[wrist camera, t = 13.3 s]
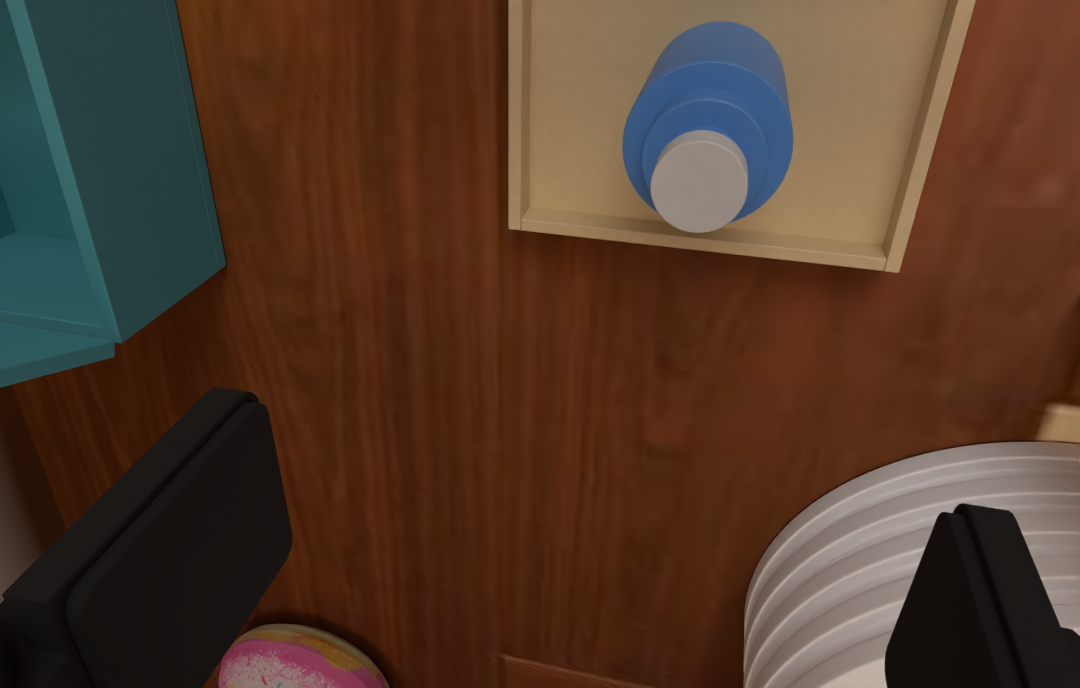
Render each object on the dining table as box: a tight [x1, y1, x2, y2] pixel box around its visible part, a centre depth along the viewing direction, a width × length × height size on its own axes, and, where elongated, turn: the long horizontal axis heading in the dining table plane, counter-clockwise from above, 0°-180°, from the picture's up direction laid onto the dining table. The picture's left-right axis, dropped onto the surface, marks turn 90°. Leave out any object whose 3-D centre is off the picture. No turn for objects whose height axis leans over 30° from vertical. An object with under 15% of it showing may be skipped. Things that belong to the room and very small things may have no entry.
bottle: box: [622, 21, 793, 233], centre depth 28 cm, size 6×6×12 cm
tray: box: [508, 0, 976, 273], centre depth 33 cm, size 17×13×2 cm
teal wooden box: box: [0, 0, 226, 343], centre depth 37 cm, size 17×14×9 cm
